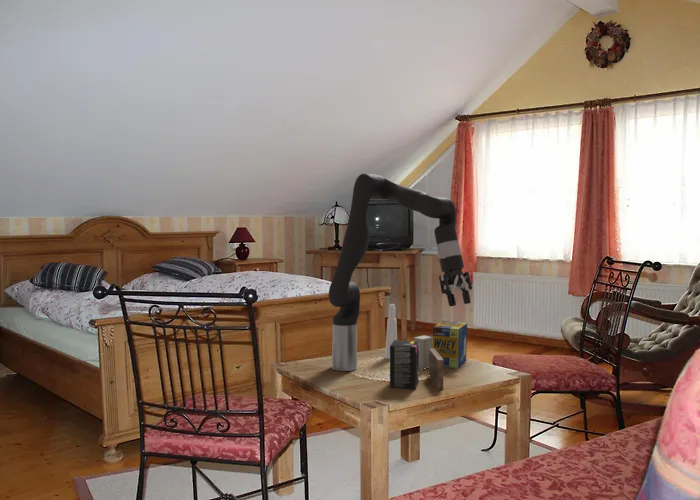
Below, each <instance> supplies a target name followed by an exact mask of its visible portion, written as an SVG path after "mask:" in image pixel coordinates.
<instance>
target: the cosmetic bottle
mask: <svg viewBox="0 0 700 500" xmlns="http://www.w3.org/2000/svg"><path fill="white" fill-rule="evenodd" d="M396 309H397V307H396V304H395V303H390V304H389V305H388V318H387V322H386V323H387V324H386V337H385V338H386V340H385V351H384V356H383V358H384V359H387V360H390V345H391V344H392V343H393V341H394V340H398V326H397V322H398V321H397V318H396Z"/></svg>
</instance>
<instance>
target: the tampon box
mask: <svg viewBox="0 0 700 500" xmlns="http://www.w3.org/2000/svg"><path fill="white" fill-rule="evenodd" d="M419 371H420V370H419V341H414V340H398V339H397V340H394V341H393V343H392V344H391V345H390V359H389V387H390V388H395V389H396V388H397V389H398V388H399V389H410V390H415V389H417V386H418V385H419V383H420V382H419V380H420V377H419V374H420V373H419Z"/></svg>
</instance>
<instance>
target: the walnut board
mask: <svg viewBox="0 0 700 500" xmlns="http://www.w3.org/2000/svg"><path fill="white" fill-rule="evenodd" d="M444 368H445V367H444V360H443V358H442V357H441V356H440V355H439V353H438V352H437V351H436V350H435V349H429V369H428V376H429V375H430V377H431V378H430V377H429V378H430V380H431V379H432V380H431V381H432V383H433V384H434V386H435V387H436V389H437V390H443V389H444Z"/></svg>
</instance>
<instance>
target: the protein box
mask: <svg viewBox="0 0 700 500" xmlns="http://www.w3.org/2000/svg"><path fill="white" fill-rule="evenodd" d="M467 341H468V323H467V322H459V321H457V322H456V321H449V320H448V321H447V320H442V321H440V322H439V323H436V324H435V325H434V326H432V349H435V350H436V351H437V352H438V353H439V355H440V356H441V357H442V358H443V360H444V368H447V369H448V368H449V369H457V370H458V369H459V368H460V367H461V366H462V365H463V364H464V363H465V362H466V361H467V346H468V344H467V343H468V342H467Z"/></svg>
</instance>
